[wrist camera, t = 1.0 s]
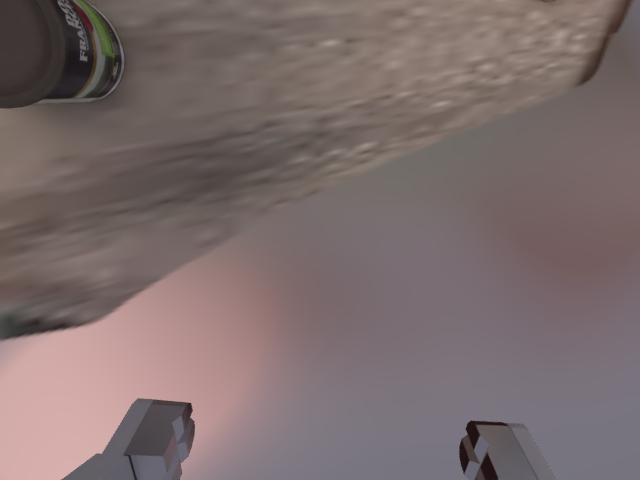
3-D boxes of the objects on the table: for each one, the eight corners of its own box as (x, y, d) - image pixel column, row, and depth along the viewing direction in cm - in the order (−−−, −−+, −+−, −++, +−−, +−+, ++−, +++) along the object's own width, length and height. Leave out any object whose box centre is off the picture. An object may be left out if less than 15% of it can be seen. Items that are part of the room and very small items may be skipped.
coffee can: (85, -27, 34) (-9, -97, 21) (144, 82, 38) (96, 77, 26) (-15, 12, 33) (-172, -36, 21) (56, 117, 38) (-36, 130, 25)
